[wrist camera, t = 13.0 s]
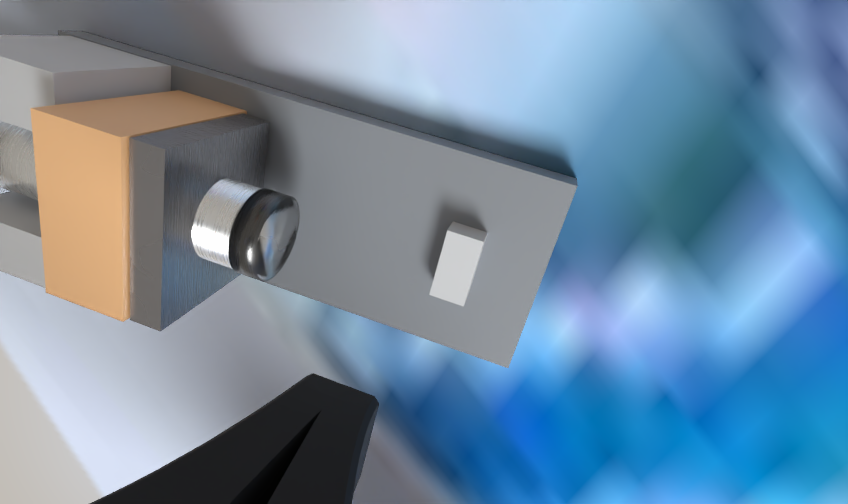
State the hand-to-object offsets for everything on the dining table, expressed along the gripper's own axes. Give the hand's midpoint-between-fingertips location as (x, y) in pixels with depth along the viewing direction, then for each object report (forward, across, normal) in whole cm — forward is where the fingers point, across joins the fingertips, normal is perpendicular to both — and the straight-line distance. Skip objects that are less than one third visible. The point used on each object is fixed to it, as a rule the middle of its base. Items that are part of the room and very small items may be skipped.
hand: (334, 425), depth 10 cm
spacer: (+9, +9, 0) cm, 13 cm away
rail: (+10, +6, 0) cm, 11 cm away
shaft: (+9, +11, 0) cm, 14 cm away
